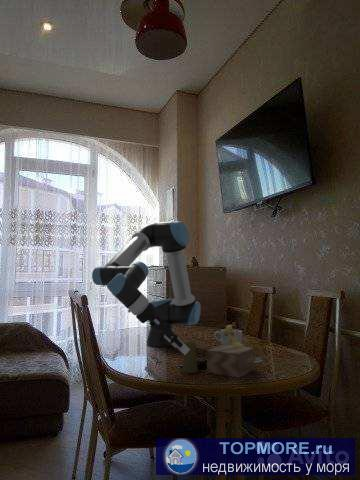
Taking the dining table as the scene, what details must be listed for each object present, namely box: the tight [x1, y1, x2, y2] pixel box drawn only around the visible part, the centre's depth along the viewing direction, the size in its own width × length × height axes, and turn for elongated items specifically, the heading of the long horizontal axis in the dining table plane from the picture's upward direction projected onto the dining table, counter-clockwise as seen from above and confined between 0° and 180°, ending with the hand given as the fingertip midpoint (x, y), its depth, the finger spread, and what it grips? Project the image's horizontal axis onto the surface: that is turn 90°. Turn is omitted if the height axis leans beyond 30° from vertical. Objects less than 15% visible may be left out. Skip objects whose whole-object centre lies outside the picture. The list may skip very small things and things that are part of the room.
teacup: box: [213, 328, 243, 345], centre depth 182 cm, size 14×11×8 cm
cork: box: [181, 340, 199, 374], centre depth 137 cm, size 6×6×11 cm
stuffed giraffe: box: [224, 322, 264, 363], centre depth 156 cm, size 16×18×16 cm
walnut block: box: [206, 344, 255, 378], centre depth 136 cm, size 13×13×8 cm
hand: (182, 348), depth 136 cm, fingers open, 13 cm apart
